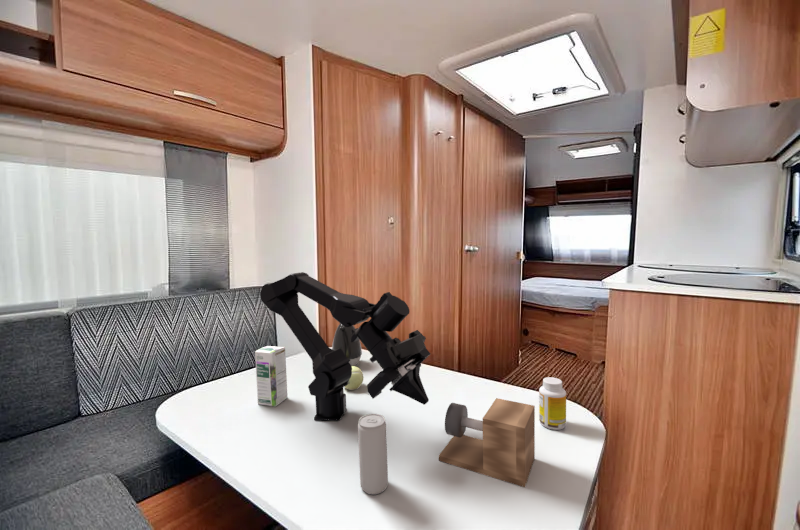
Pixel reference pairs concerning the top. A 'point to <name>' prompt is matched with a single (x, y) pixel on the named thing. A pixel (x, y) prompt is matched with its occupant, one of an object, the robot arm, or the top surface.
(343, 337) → the dark grey ovoid
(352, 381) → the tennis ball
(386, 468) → the beverage can
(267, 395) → the syrup box
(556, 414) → the supplement bottle
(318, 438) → the top surface
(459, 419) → the knob
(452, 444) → the mount
